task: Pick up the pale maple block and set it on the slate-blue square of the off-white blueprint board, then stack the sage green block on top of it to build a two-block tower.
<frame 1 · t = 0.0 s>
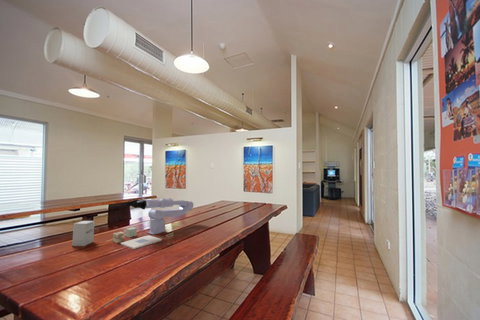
hand: (129, 204, 131), 22 cm above the table, tool horizontal, fingers open, 7 cm apart
blueprint board: (141, 242, 126), on the table
sage block: (131, 236, 138), on the table
maple block: (118, 241, 127), on the table
supplement box: (83, 244, 122), on the table
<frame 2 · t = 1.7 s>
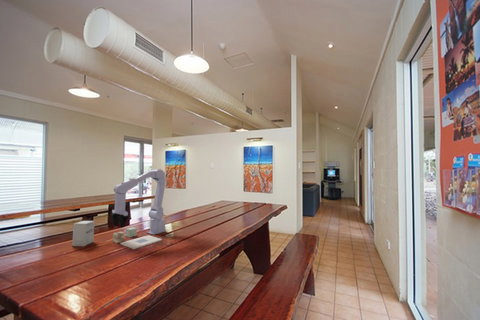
hand: (119, 226, 128), 9 cm above the table, tool pointing down, fingers open, 7 cm apart
nothing on the table moved.
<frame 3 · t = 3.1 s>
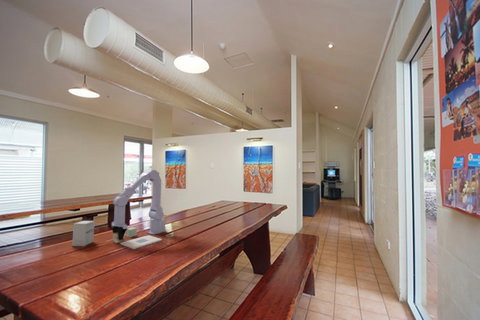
hand: (118, 238, 127), 1 cm above the table, tool pointing down, fingers closed on maple block, 4 cm apart
maple block: (118, 241, 127), on the table, touching gripper
everything else where it was.
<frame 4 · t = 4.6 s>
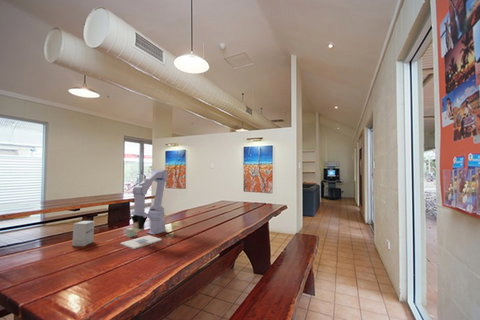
hand: (138, 228, 126), 8 cm above the table, tool pointing down, fingers closed on maple block, 4 cm apart
maple block: (138, 230, 126), point 7 cm above the table, touching gripper
everything else where it was.
when the fingers open (3 cm above the table, at t = 6.2 s): maple block stays where it is, resting on blueprint board.
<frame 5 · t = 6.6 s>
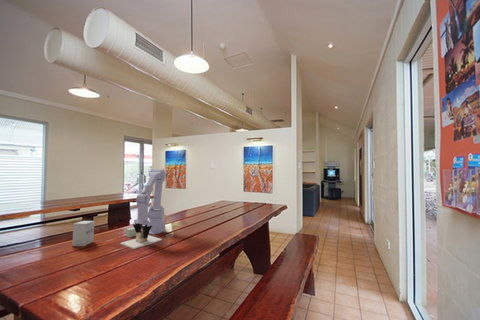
hand: (141, 236, 126), 3 cm above the table, tool pointing down, fingers open, 7 cm apart
maple block: (141, 240, 126), point 1 cm above the table, touching blueprint board
everything else where it was.
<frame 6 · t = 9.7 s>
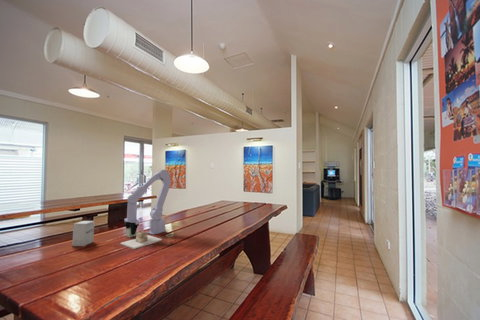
hand: (131, 233, 138), 1 cm above the table, tool pointing down, fingers closed on sage block, 4 cm apart
sage block: (131, 236, 138), on the table, touching gripper
everything else where it was.
when the fingers open (8 cm above the table, at t = 12.4 s): sage block stays where it is, resting on maple block.
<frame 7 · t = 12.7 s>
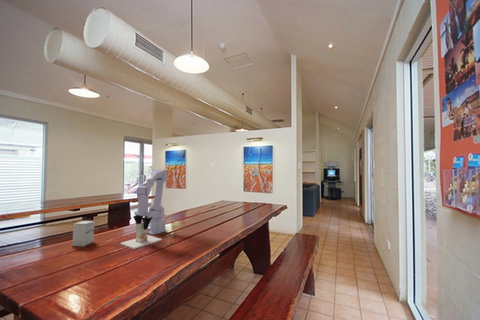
hand: (142, 228, 126), 8 cm above the table, tool pointing down, fingers open, 7 cm apart
sage block: (141, 232, 126), point 6 cm above the table, touching maple block
maple block: (141, 240, 126), point 1 cm above the table, touching blueprint board, sage block
everything else where it was.
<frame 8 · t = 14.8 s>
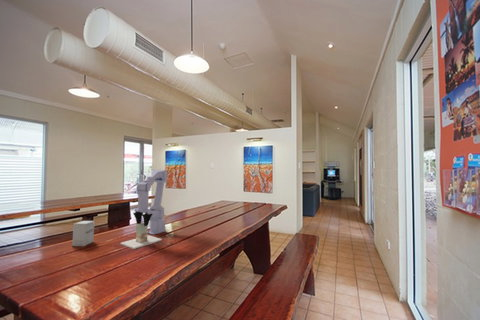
hand: (142, 224, 126), 10 cm above the table, tool pointing down, fingers open, 7 cm apart
nothing on the table moved.
at the end: maple block 0.2 cm off-centre on the blueprint board, point 0.9 cm above the blueprint board's base; sage block 0.1 cm off-centre on the maple block, point 5.0 cm above the maple block's base; sage block tilted 0° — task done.
